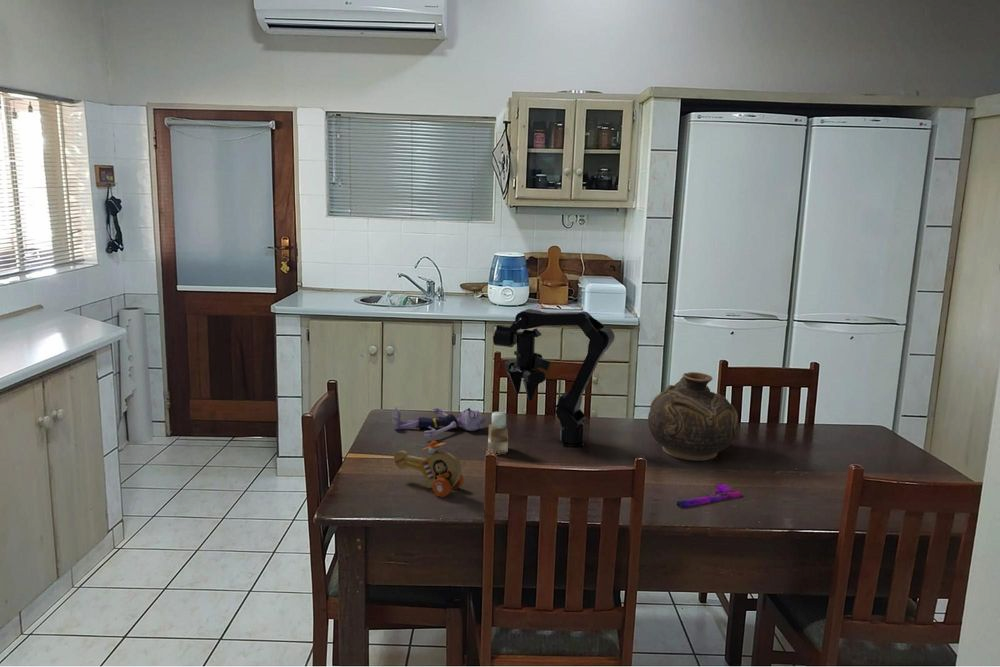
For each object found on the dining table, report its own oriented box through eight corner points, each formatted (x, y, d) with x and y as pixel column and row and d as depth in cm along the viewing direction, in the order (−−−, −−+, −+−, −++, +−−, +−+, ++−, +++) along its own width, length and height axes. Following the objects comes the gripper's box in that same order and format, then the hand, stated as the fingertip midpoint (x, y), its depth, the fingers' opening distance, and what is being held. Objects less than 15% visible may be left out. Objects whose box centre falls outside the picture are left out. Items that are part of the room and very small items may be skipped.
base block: (507, 448, 233) (508, 436, 232) (507, 455, 227) (507, 442, 226) (488, 447, 233) (488, 435, 232) (487, 454, 227) (488, 441, 226)
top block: (504, 436, 232) (504, 423, 231) (507, 441, 227) (507, 428, 226) (488, 436, 231) (488, 424, 230) (491, 442, 226) (491, 429, 225)
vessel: (682, 430, 253) (692, 359, 247) (752, 460, 231) (765, 383, 226) (625, 444, 237) (634, 368, 231) (695, 478, 215) (707, 395, 210)
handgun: (723, 488, 208) (723, 481, 207) (743, 498, 201) (743, 491, 200) (662, 499, 199) (663, 492, 198) (681, 510, 192) (682, 503, 192)
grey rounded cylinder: (505, 424, 230) (506, 411, 229) (506, 429, 226) (506, 416, 225) (491, 424, 230) (491, 411, 229) (491, 428, 226) (491, 415, 225)
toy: (399, 398, 261) (485, 391, 260) (402, 423, 263) (488, 417, 261) (386, 421, 235) (482, 414, 234) (390, 449, 237) (485, 442, 236)
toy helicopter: (450, 500, 193) (451, 449, 190) (385, 483, 203) (385, 434, 200) (467, 489, 200) (468, 440, 197) (404, 473, 210) (404, 426, 207)
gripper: (561, 353, 234) (559, 402, 237) (535, 341, 251) (533, 387, 254) (529, 356, 230) (527, 405, 233) (504, 343, 246) (503, 389, 249)
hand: (523, 396), depth 242 cm, fingers open, 9 cm apart
